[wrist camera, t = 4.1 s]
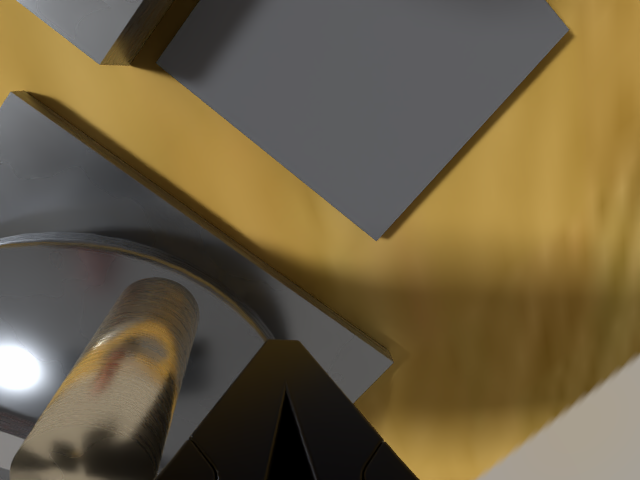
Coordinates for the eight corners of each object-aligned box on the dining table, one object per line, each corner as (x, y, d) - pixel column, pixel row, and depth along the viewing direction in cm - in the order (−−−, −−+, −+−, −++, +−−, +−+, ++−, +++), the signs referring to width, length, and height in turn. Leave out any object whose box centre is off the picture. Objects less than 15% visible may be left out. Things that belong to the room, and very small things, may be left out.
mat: (373, 236, 13) (376, 241, 12) (159, 63, 11) (155, 62, 10) (559, 31, 11) (569, 29, 11) (356, -215, 9) (359, -227, 9)
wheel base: (166, 576, 17) (159, 616, 15) (-192, 426, 13) (-240, 463, 12) (388, 351, 14) (400, 377, 13) (24, 90, 11) (-8, 92, 9)
